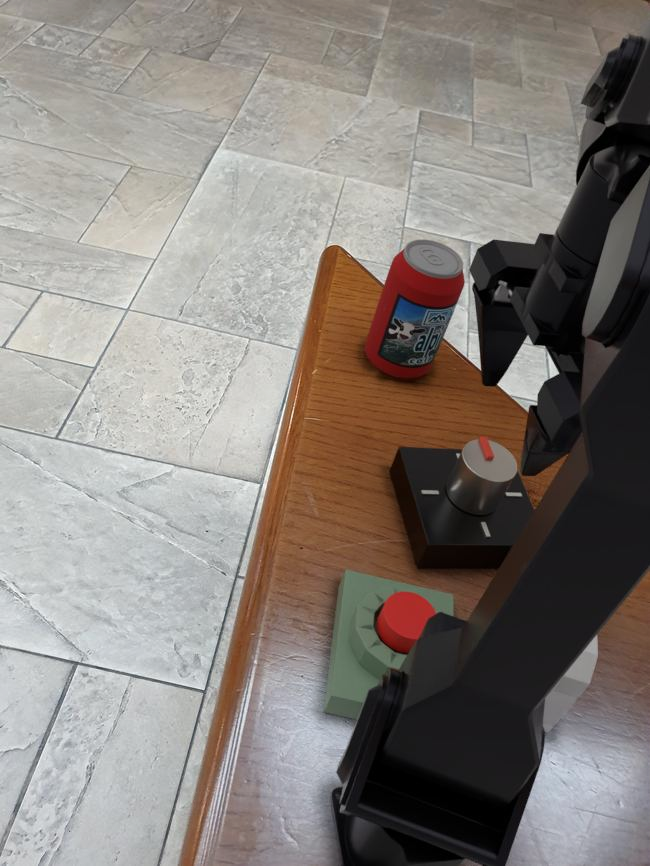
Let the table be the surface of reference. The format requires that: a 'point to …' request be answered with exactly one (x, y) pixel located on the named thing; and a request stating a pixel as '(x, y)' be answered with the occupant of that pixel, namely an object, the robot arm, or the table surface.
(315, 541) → the table surface
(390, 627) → the light button
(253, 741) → the table surface
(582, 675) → the light switch
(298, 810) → the table surface
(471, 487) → the dimmer knob
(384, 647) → the switch block
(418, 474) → the dimmer panel
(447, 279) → the beverage can
